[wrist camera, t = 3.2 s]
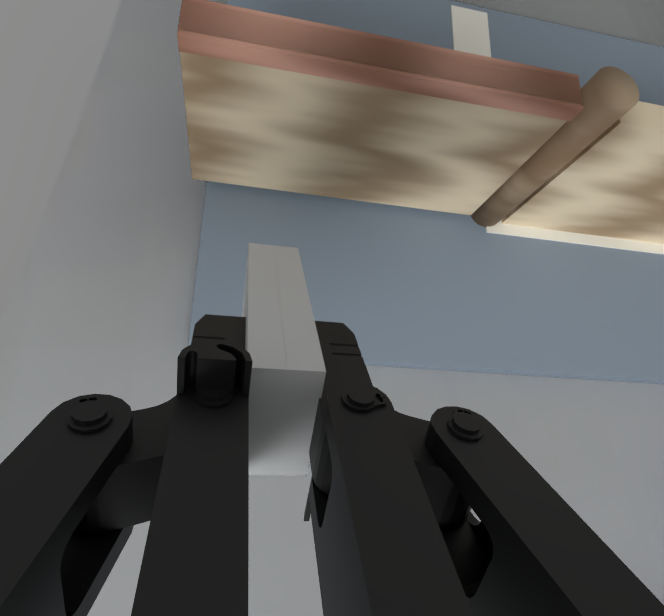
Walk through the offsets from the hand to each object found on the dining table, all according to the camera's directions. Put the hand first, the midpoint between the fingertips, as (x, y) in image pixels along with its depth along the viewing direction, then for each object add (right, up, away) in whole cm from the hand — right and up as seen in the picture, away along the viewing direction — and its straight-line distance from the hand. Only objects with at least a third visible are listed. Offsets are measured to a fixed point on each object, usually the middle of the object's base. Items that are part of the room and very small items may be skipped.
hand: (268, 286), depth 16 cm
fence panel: (+2, +5, +9) cm, 11 cm away
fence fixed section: (+16, +4, +12) cm, 21 cm away
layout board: (+10, +7, +13) cm, 18 cm away
